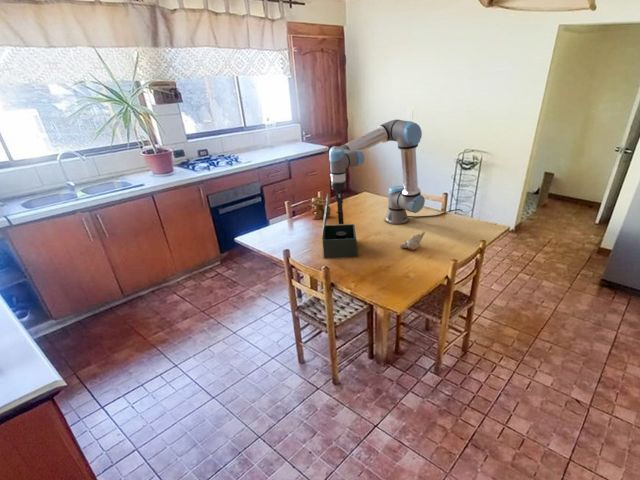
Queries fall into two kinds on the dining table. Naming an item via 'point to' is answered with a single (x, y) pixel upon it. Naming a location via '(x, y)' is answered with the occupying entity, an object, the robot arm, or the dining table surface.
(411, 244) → the seashell
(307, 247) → the dining table surface
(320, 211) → the stuffed squirrel
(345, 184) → the robot arm
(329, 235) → the open box
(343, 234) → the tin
